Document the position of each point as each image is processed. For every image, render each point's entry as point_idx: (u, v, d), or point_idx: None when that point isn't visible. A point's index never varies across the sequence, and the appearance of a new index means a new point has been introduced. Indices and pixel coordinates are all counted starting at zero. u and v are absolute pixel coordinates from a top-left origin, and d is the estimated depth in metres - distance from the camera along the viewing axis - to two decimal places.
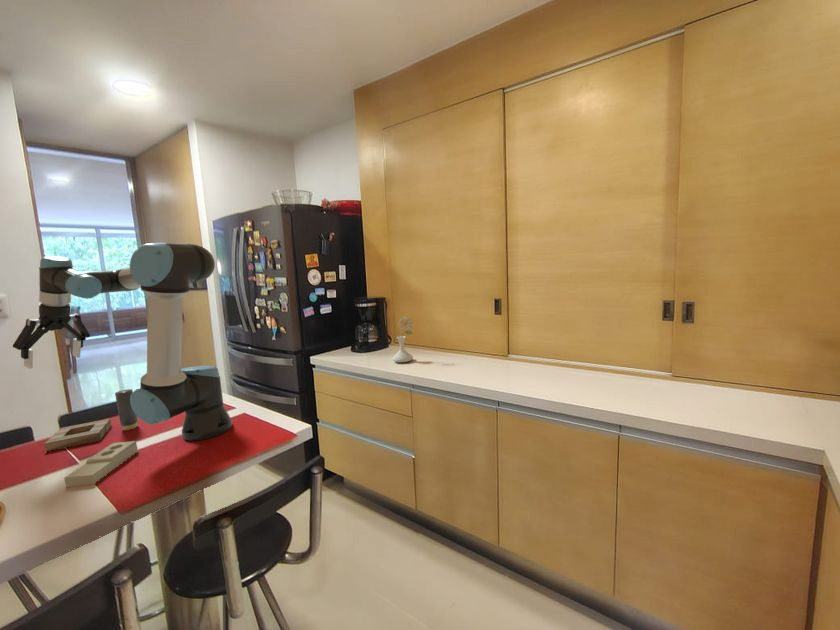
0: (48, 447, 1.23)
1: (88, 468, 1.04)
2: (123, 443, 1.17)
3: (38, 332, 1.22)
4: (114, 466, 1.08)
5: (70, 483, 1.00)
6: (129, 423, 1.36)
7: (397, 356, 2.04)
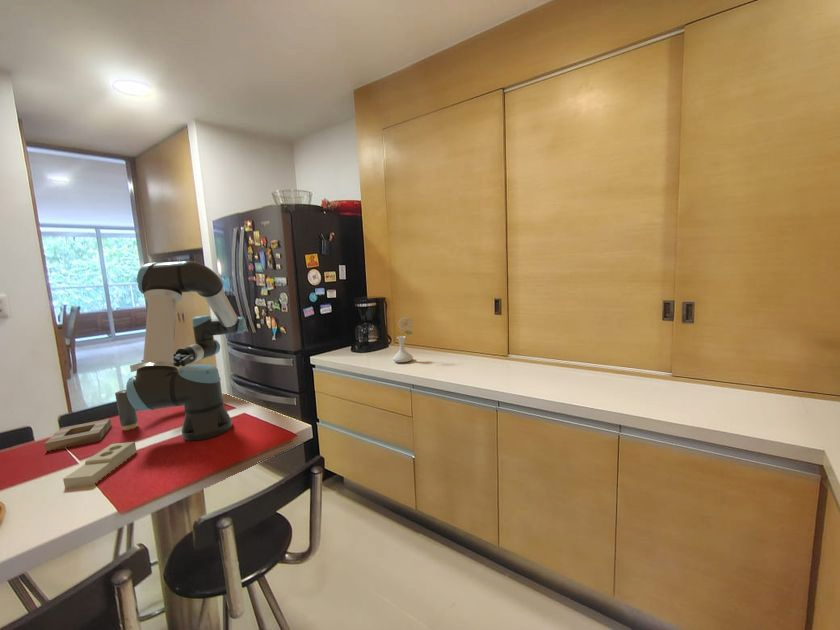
0: (48, 447, 1.23)
1: (87, 469, 1.04)
2: (122, 444, 1.16)
3: None
4: (113, 467, 1.08)
5: (69, 484, 1.00)
6: (129, 423, 1.36)
7: (397, 356, 2.04)
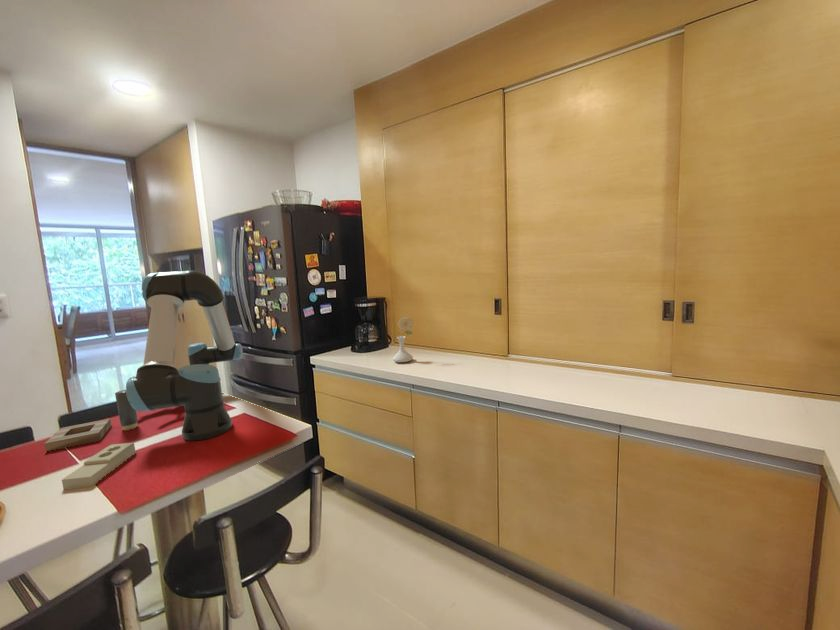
0: (48, 447, 1.23)
1: (86, 470, 1.03)
2: (121, 445, 1.16)
3: None
4: (112, 468, 1.08)
5: (68, 485, 0.99)
6: (129, 423, 1.36)
7: (397, 356, 2.04)
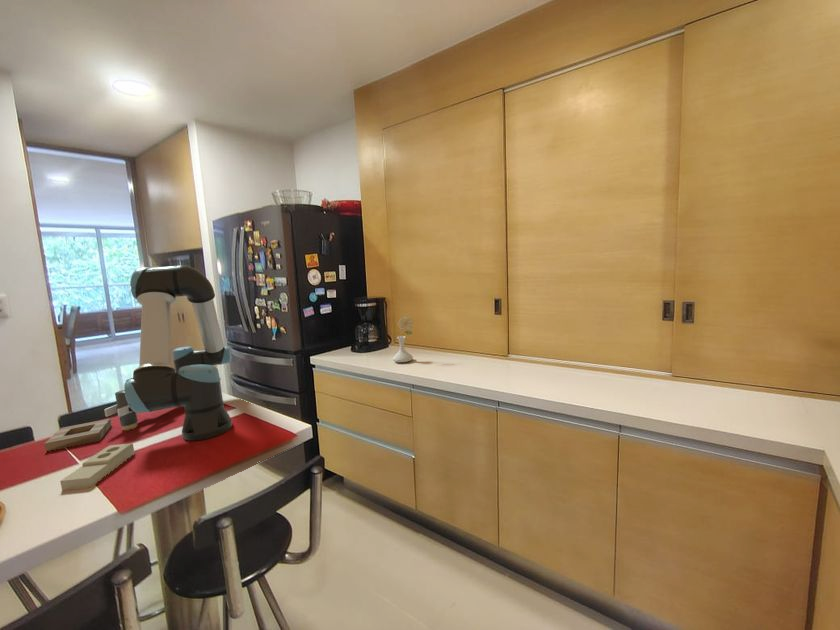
0: (48, 447, 1.23)
1: (84, 471, 1.03)
2: (120, 445, 1.15)
3: None
4: (111, 469, 1.07)
5: (66, 486, 0.99)
6: (129, 423, 1.36)
7: (397, 356, 2.04)
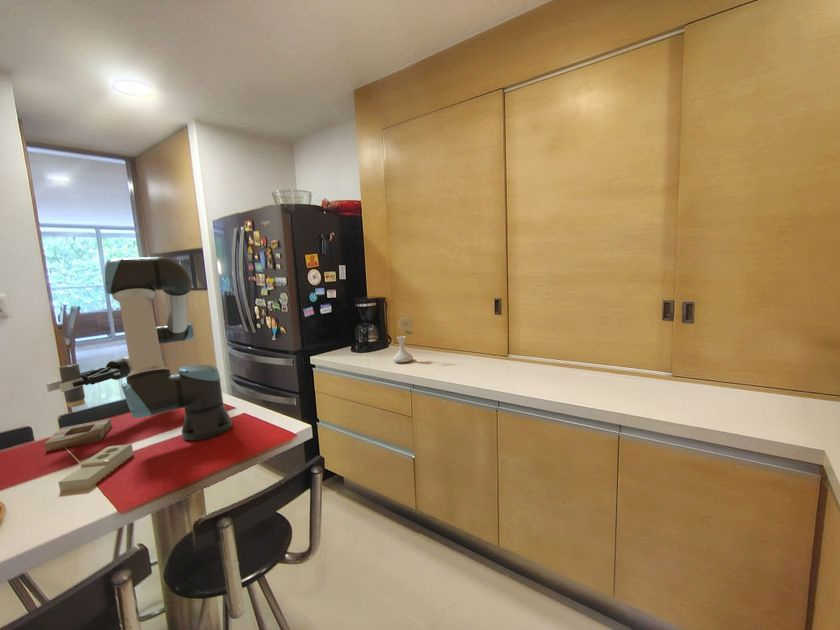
0: (48, 447, 1.23)
1: (83, 472, 1.02)
2: (118, 446, 1.15)
3: None
4: (110, 470, 1.07)
5: (64, 487, 0.98)
6: (74, 399, 1.28)
7: (397, 356, 2.04)
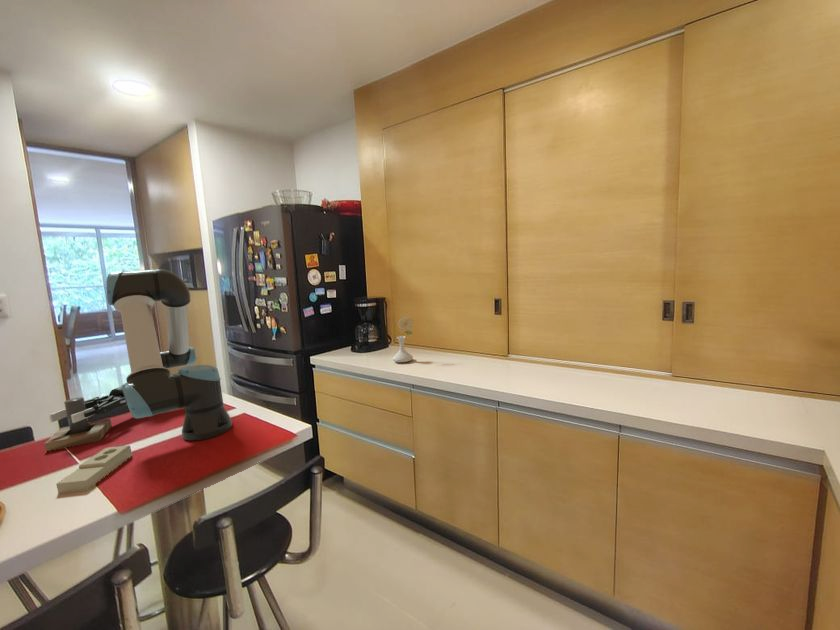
0: (48, 447, 1.23)
1: (81, 474, 1.01)
2: (117, 447, 1.14)
3: None
4: (108, 471, 1.06)
5: (62, 489, 0.98)
6: None
7: (397, 356, 2.04)
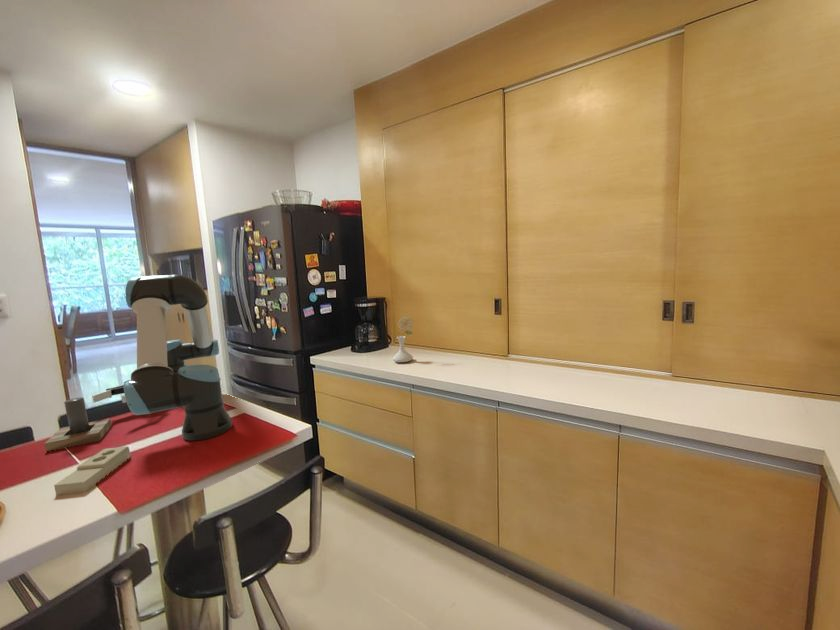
0: (48, 447, 1.23)
1: (79, 475, 1.01)
2: (115, 449, 1.13)
3: None
4: (106, 472, 1.05)
5: (60, 491, 0.97)
6: None
7: (397, 356, 2.04)
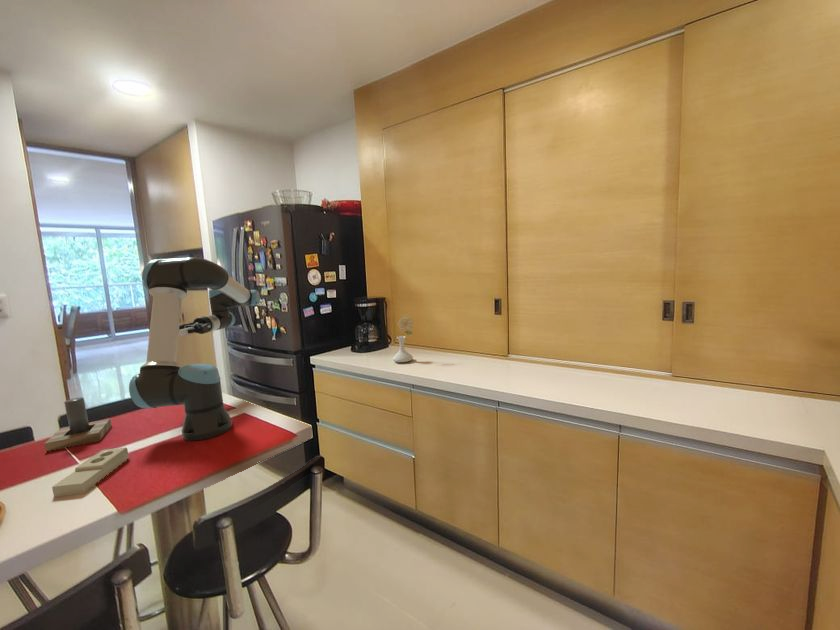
0: (48, 447, 1.23)
1: (77, 476, 1.00)
2: (113, 450, 1.12)
3: None
4: (104, 474, 1.04)
5: (58, 492, 0.96)
6: None
7: (397, 356, 2.04)
